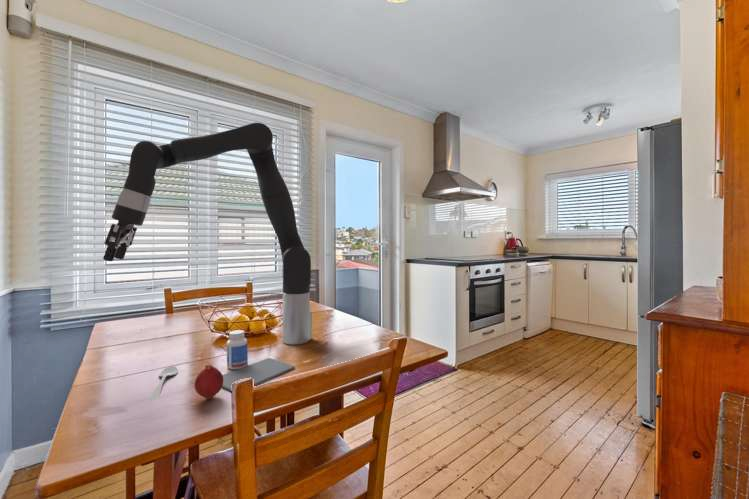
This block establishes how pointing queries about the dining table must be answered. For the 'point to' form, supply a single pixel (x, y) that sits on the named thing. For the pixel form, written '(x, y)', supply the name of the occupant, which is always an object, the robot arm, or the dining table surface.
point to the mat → (256, 372)
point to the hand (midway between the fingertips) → (113, 259)
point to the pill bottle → (237, 350)
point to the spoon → (163, 374)
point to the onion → (209, 382)
